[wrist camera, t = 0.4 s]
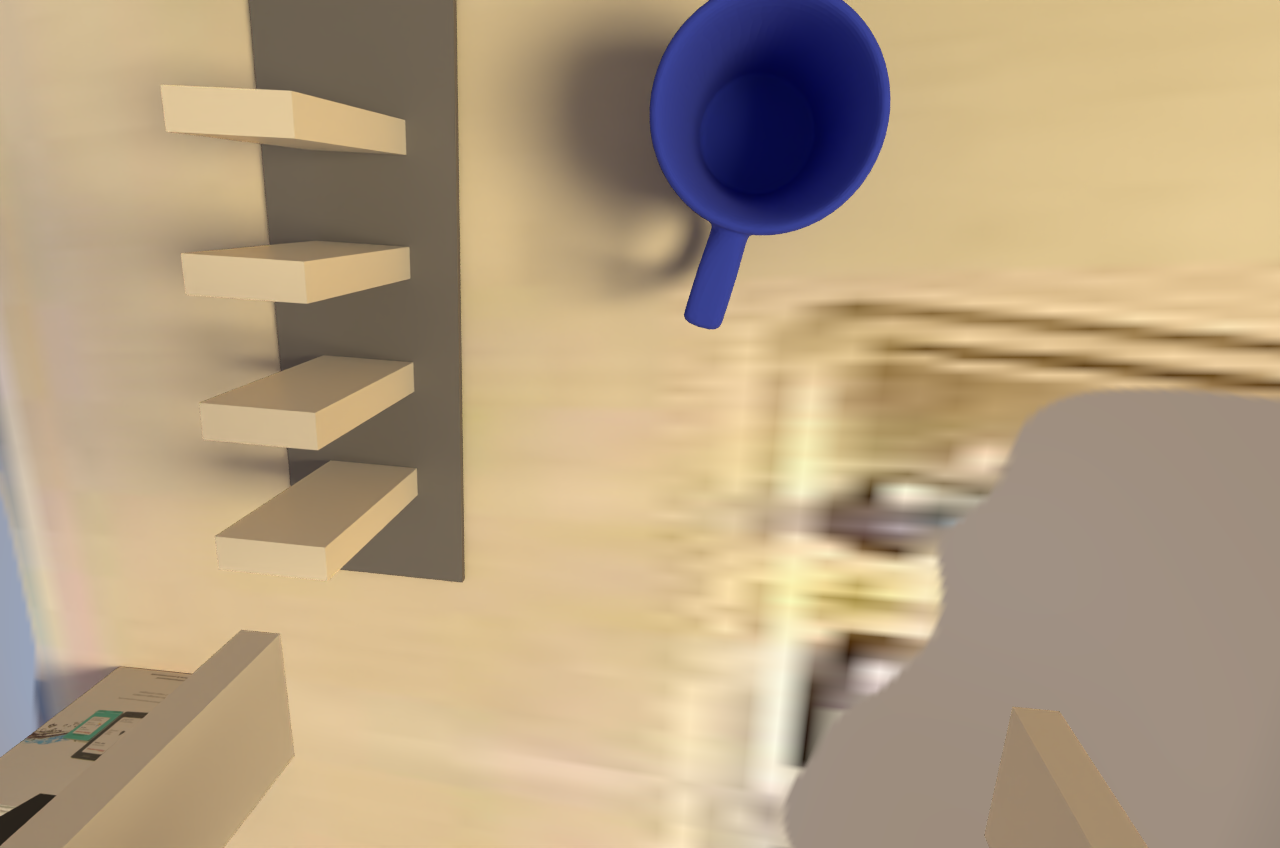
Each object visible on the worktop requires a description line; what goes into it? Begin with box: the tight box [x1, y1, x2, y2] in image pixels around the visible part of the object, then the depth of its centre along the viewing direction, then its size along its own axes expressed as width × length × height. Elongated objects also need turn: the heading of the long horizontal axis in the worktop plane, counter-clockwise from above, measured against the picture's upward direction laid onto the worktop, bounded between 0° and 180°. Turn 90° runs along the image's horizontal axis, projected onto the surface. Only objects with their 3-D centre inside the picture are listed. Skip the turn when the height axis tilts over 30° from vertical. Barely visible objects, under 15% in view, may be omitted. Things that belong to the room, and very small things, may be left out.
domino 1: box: [160, 85, 406, 155], centre depth 32 cm, size 2×5×10 cm, turn 87°
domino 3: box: [199, 355, 414, 450], centre depth 35 cm, size 2×5×10 cm, turn 86°
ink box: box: [0, 667, 192, 816], centre depth 44 cm, size 8×8×12 cm
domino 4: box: [215, 460, 418, 581], centre depth 37 cm, size 2×5×10 cm, turn 87°
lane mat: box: [249, 0, 465, 582], centre depth 39 cm, size 34×10×1 cm, turn 177°
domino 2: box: [181, 241, 410, 304], centre depth 34 cm, size 2×5×10 cm, turn 87°
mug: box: [650, 0, 890, 329], centre depth 31 cm, size 8×12×10 cm
